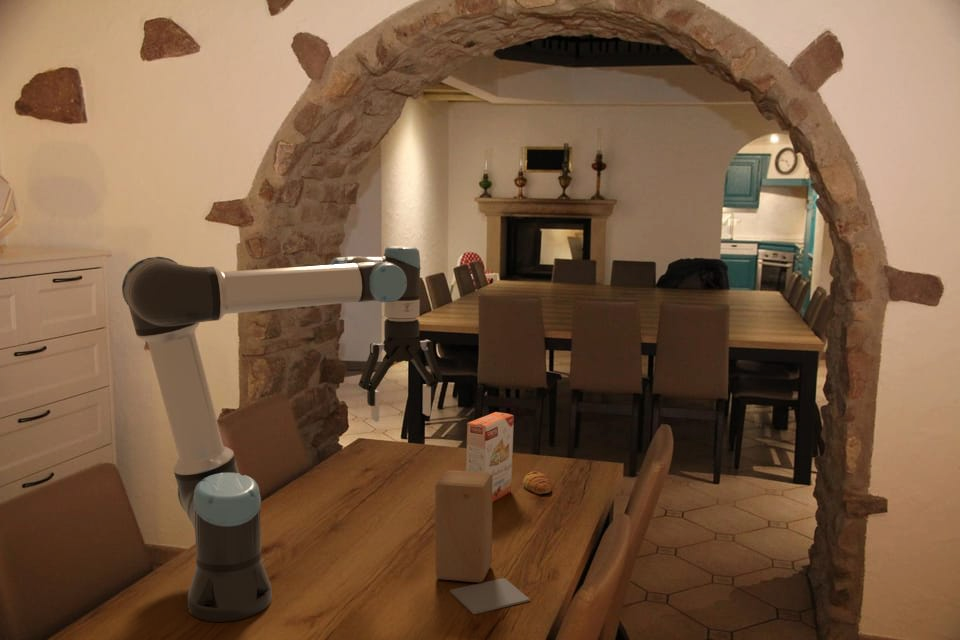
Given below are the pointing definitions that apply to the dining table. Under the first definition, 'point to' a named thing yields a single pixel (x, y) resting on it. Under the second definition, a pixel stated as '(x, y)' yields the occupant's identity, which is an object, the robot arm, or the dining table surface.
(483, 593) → the felt pad
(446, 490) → the wooden block
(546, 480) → the pastry
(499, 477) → the cracker box
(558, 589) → the dining table surface
